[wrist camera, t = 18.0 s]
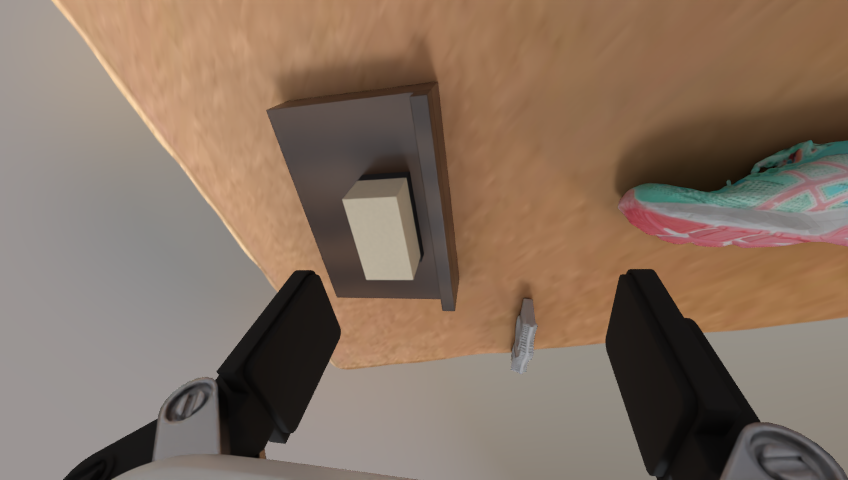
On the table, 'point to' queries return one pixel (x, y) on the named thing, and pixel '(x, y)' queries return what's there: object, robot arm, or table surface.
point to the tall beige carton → (385, 225)
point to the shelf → (372, 154)
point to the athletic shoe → (754, 203)
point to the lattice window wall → (524, 337)
